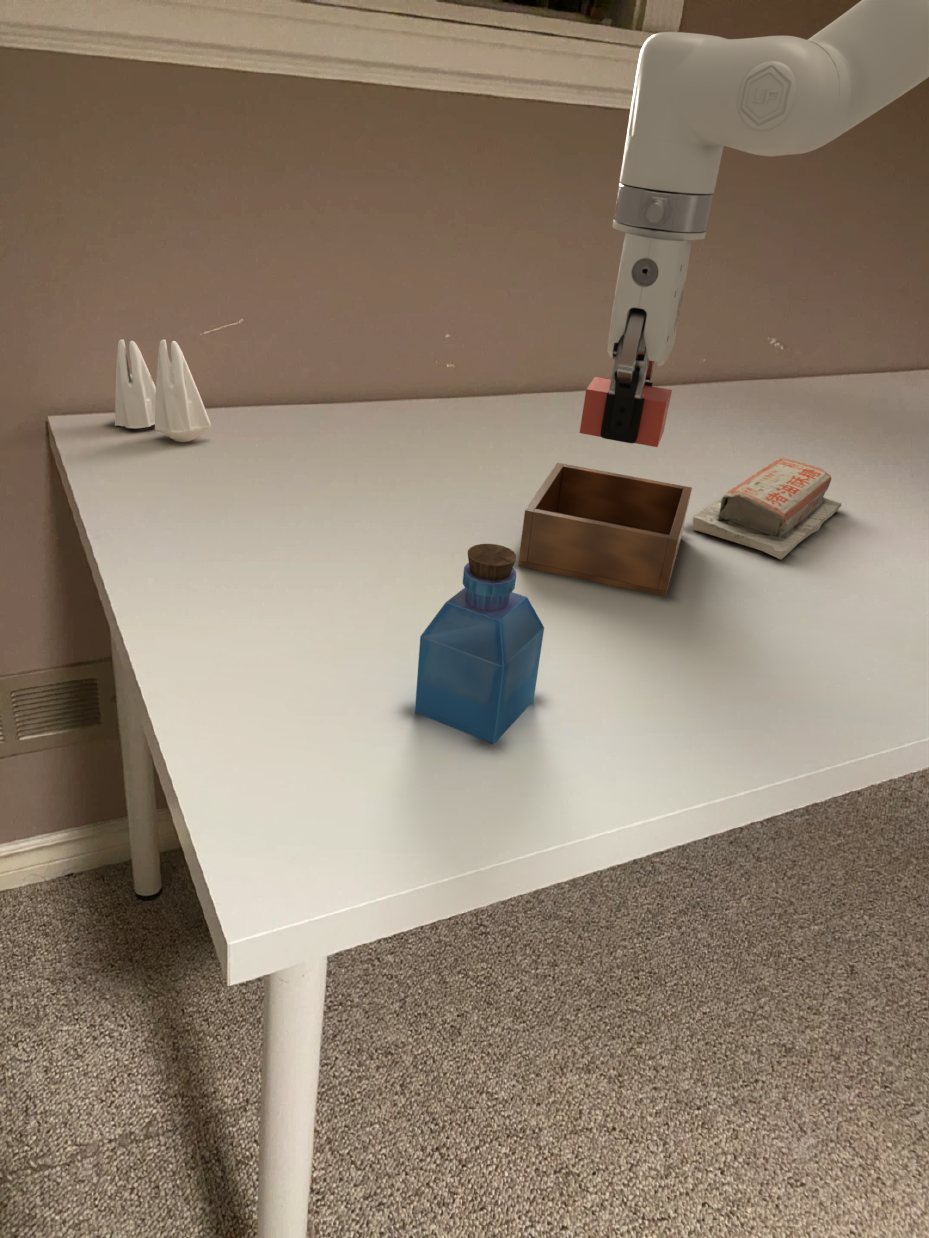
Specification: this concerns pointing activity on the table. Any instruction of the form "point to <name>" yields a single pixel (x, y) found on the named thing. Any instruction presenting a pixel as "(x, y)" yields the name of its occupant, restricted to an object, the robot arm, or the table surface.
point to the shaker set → (158, 394)
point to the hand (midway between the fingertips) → (623, 429)
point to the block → (650, 418)
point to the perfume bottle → (481, 650)
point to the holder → (605, 528)
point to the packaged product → (771, 508)
